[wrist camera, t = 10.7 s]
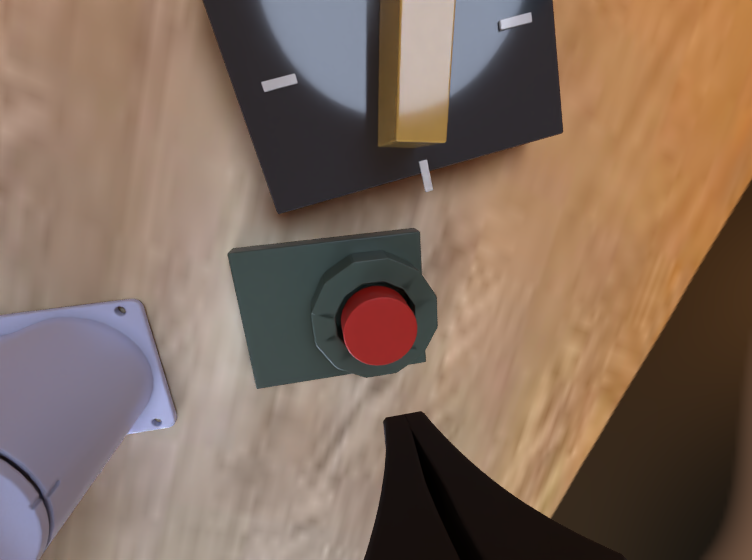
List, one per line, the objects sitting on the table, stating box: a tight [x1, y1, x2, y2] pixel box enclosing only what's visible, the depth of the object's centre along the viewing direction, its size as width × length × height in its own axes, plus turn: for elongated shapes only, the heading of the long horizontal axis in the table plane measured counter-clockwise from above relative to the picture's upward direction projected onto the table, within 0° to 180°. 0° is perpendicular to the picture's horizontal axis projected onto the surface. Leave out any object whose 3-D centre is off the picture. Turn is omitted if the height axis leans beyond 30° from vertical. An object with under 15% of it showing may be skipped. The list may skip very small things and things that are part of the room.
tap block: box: [202, 0, 563, 214], centre depth 17 cm, size 14×12×3 cm
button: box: [341, 286, 417, 365], centre depth 18 cm, size 4×4×2 cm
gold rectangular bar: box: [378, 0, 456, 148], centre depth 13 cm, size 8×2×4 cm, turn 179°
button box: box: [228, 228, 438, 389], centre depth 20 cm, size 10×8×3 cm
